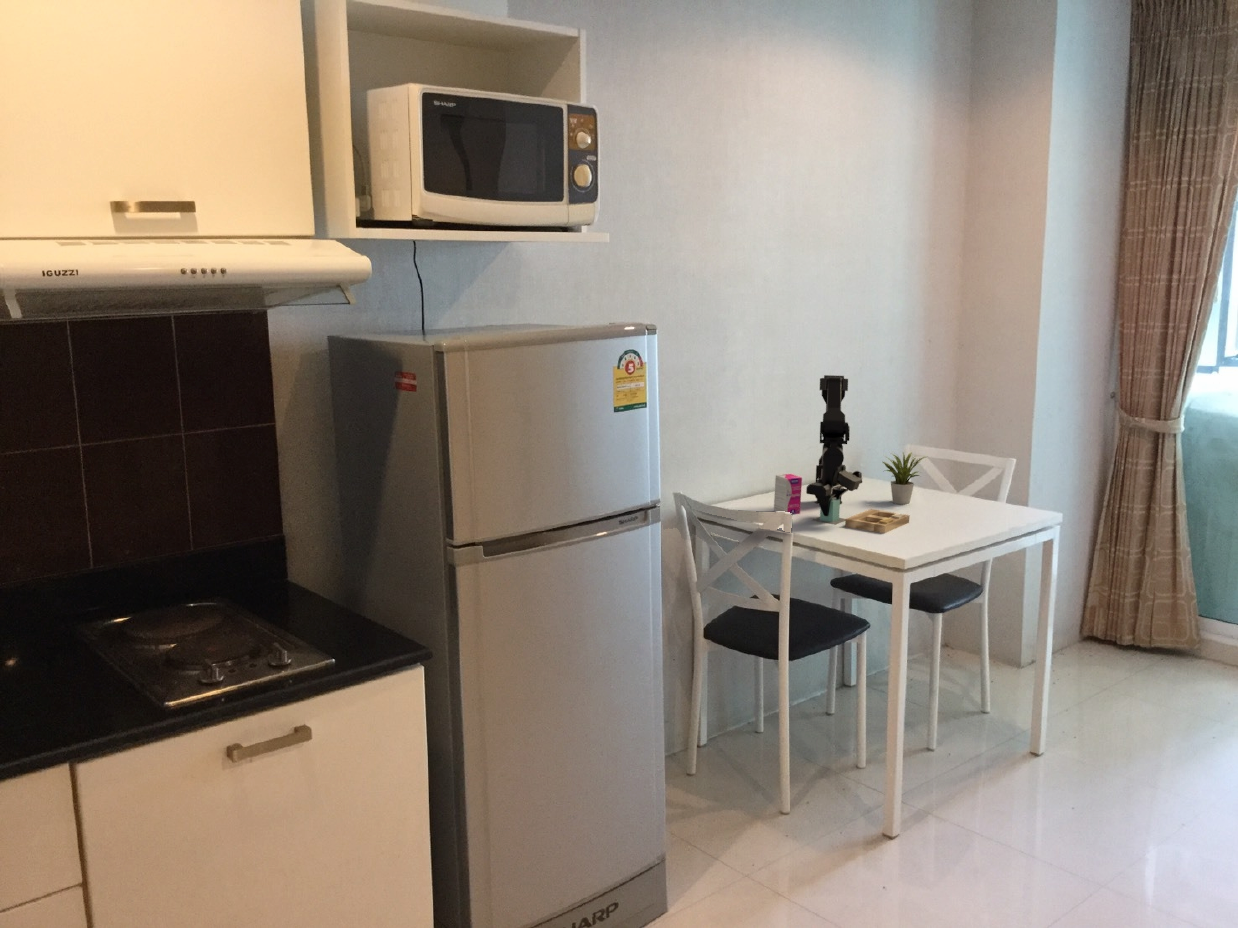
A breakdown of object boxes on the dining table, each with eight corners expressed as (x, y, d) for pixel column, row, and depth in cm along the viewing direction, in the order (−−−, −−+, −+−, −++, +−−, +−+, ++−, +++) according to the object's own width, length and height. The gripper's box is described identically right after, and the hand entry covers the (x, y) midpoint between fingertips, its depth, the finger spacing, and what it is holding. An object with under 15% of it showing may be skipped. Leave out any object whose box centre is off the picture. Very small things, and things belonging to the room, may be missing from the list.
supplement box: (784, 516, 314) (786, 478, 311) (773, 512, 319) (774, 475, 317) (800, 514, 316) (802, 476, 314) (788, 510, 321) (790, 473, 319)
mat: (810, 521, 308) (810, 520, 308) (823, 516, 314) (823, 515, 314) (835, 525, 303) (835, 524, 303) (848, 520, 310) (848, 519, 309)
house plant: (920, 496, 341) (923, 446, 338) (934, 506, 328) (937, 454, 325) (876, 496, 341) (878, 446, 338) (888, 506, 327) (891, 454, 324)
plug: (819, 519, 309) (820, 497, 307) (826, 517, 312) (827, 495, 310) (832, 522, 306) (833, 499, 305) (839, 519, 309) (840, 497, 308)
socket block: (845, 527, 302) (845, 517, 301) (870, 517, 314) (870, 507, 313) (884, 534, 294) (885, 524, 294) (909, 523, 306) (909, 513, 306)
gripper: (842, 469, 294) (839, 525, 296) (872, 460, 308) (869, 513, 311) (806, 464, 300) (804, 518, 303) (837, 455, 315) (835, 507, 318)
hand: (829, 514), depth 309 cm, fingers closed on plug, 4 cm apart
